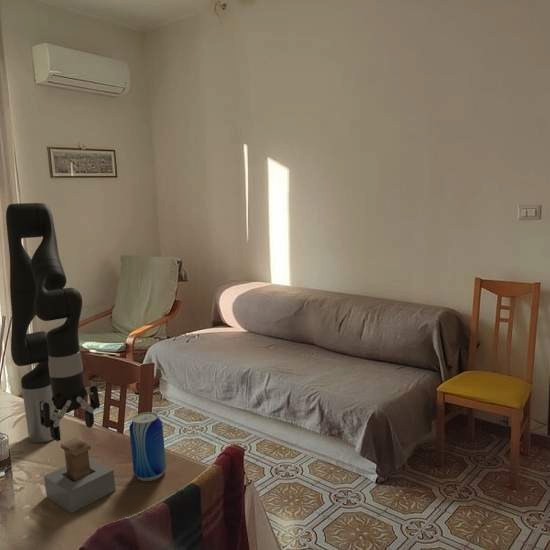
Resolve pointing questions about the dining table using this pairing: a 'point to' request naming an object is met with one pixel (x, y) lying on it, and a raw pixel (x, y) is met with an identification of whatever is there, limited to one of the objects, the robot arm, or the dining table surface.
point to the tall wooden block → (76, 459)
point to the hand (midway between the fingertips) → (73, 433)
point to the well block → (79, 486)
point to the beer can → (147, 446)
